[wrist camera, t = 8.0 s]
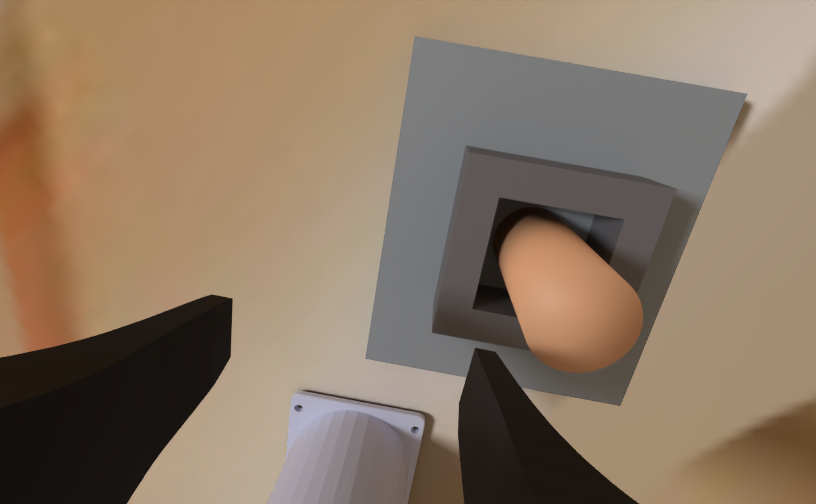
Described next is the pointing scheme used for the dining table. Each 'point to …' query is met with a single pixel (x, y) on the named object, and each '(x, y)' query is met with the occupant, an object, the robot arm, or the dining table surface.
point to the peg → (565, 293)
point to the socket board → (534, 198)
